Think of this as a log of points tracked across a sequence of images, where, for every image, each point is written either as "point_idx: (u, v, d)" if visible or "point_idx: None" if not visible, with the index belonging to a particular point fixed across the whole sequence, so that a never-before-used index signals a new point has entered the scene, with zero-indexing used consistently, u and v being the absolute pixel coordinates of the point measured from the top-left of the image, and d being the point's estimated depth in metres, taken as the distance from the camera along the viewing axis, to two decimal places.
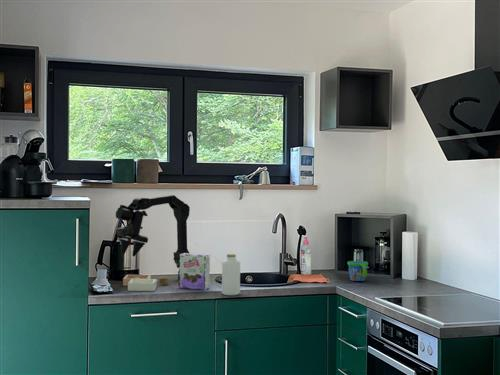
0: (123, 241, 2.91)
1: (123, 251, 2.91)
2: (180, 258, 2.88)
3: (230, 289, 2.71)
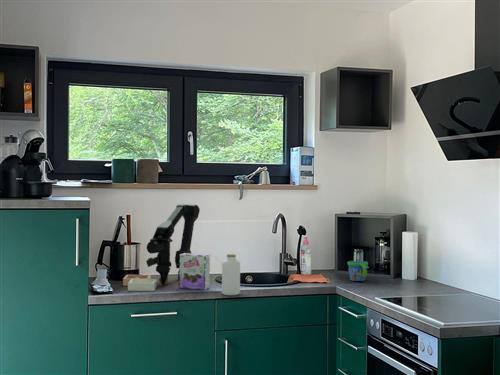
0: None
1: None
2: (180, 258, 2.88)
3: (230, 289, 2.71)
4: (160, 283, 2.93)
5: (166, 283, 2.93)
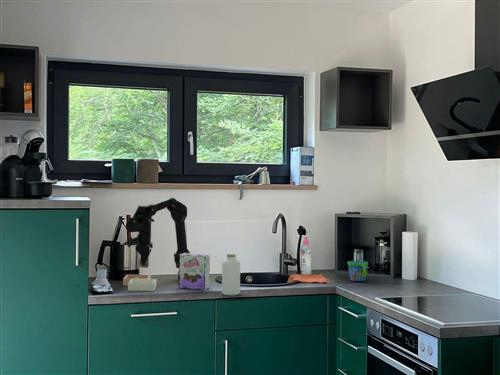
0: None
1: None
2: (180, 258, 2.88)
3: (230, 289, 2.71)
4: (140, 264, 2.82)
5: (146, 264, 2.82)
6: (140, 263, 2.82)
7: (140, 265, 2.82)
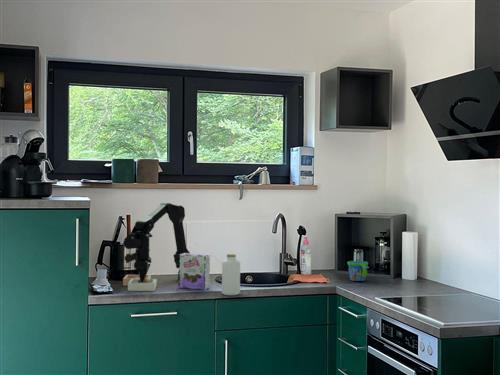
0: None
1: None
2: (180, 258, 2.88)
3: (230, 289, 2.71)
4: None
5: None
6: None
7: None
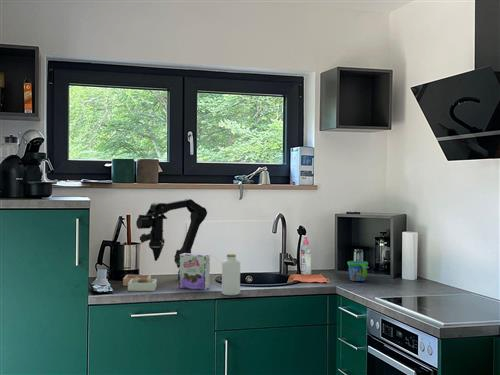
0: None
1: None
2: (180, 258, 2.88)
3: (230, 289, 2.71)
4: None
5: None
6: None
7: None
